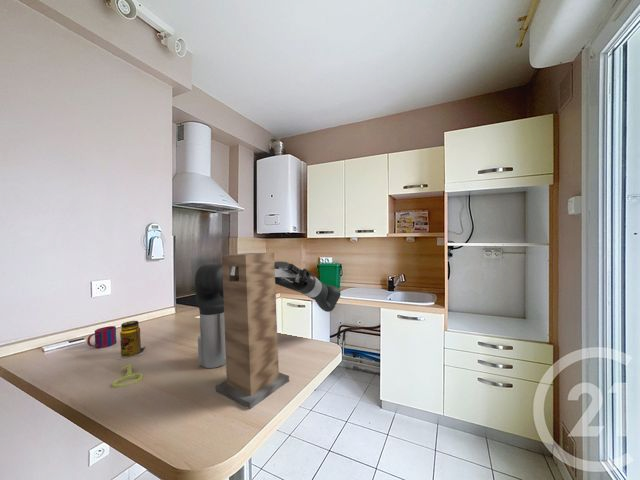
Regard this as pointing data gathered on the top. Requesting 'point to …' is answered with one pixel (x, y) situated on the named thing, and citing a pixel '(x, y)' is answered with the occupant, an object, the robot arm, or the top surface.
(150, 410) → the top surface
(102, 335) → the mug
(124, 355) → the condiment
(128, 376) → the yellow-green flat looped piece
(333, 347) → the top surface
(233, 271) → the pin
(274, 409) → the top surface
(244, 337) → the post
